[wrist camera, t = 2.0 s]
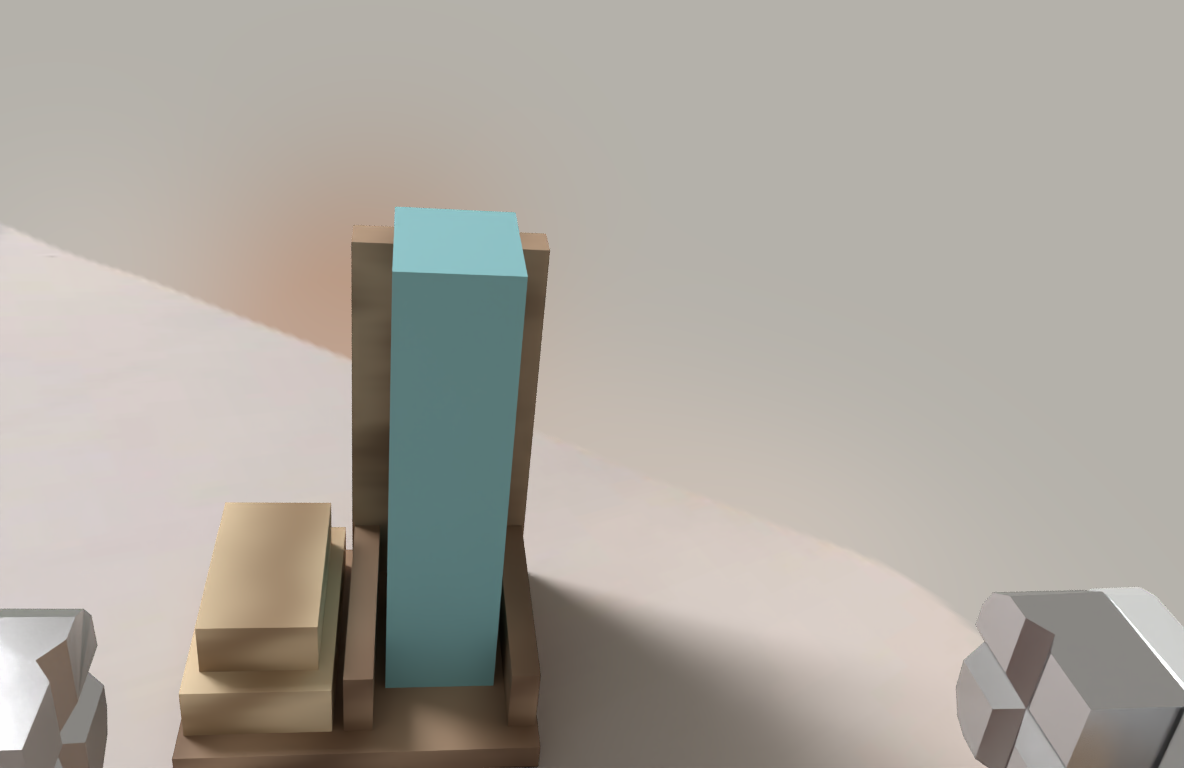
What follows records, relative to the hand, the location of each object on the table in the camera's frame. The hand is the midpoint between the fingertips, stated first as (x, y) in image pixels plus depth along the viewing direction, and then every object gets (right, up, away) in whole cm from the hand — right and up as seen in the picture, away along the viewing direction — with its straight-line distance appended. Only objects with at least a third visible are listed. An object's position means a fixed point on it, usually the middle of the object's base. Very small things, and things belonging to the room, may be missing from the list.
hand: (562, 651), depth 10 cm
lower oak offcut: (-12, -7, +33) cm, 35 cm away
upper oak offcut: (-12, -6, +32) cm, 34 cm away
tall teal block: (-6, -8, +34) cm, 35 cm away
